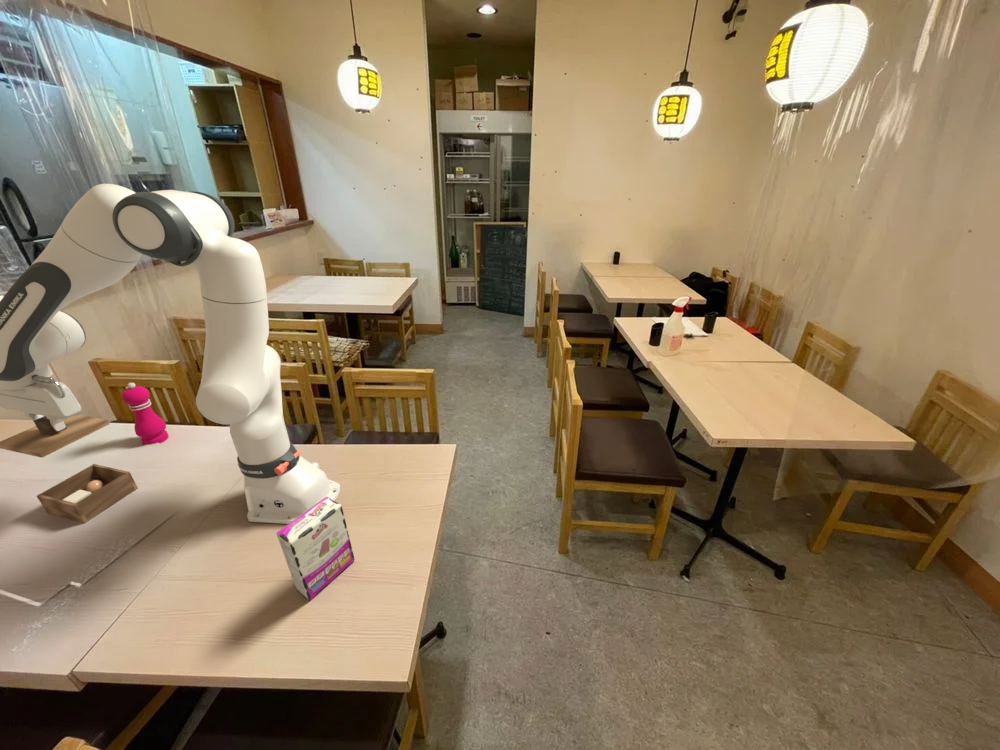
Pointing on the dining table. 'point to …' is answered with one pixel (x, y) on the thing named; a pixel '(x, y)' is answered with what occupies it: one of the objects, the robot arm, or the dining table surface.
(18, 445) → the lid
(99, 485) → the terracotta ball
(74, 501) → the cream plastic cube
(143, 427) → the pepper mill
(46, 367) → the robot arm
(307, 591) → the candy bar box
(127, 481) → the walnut box
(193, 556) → the dining table surface
